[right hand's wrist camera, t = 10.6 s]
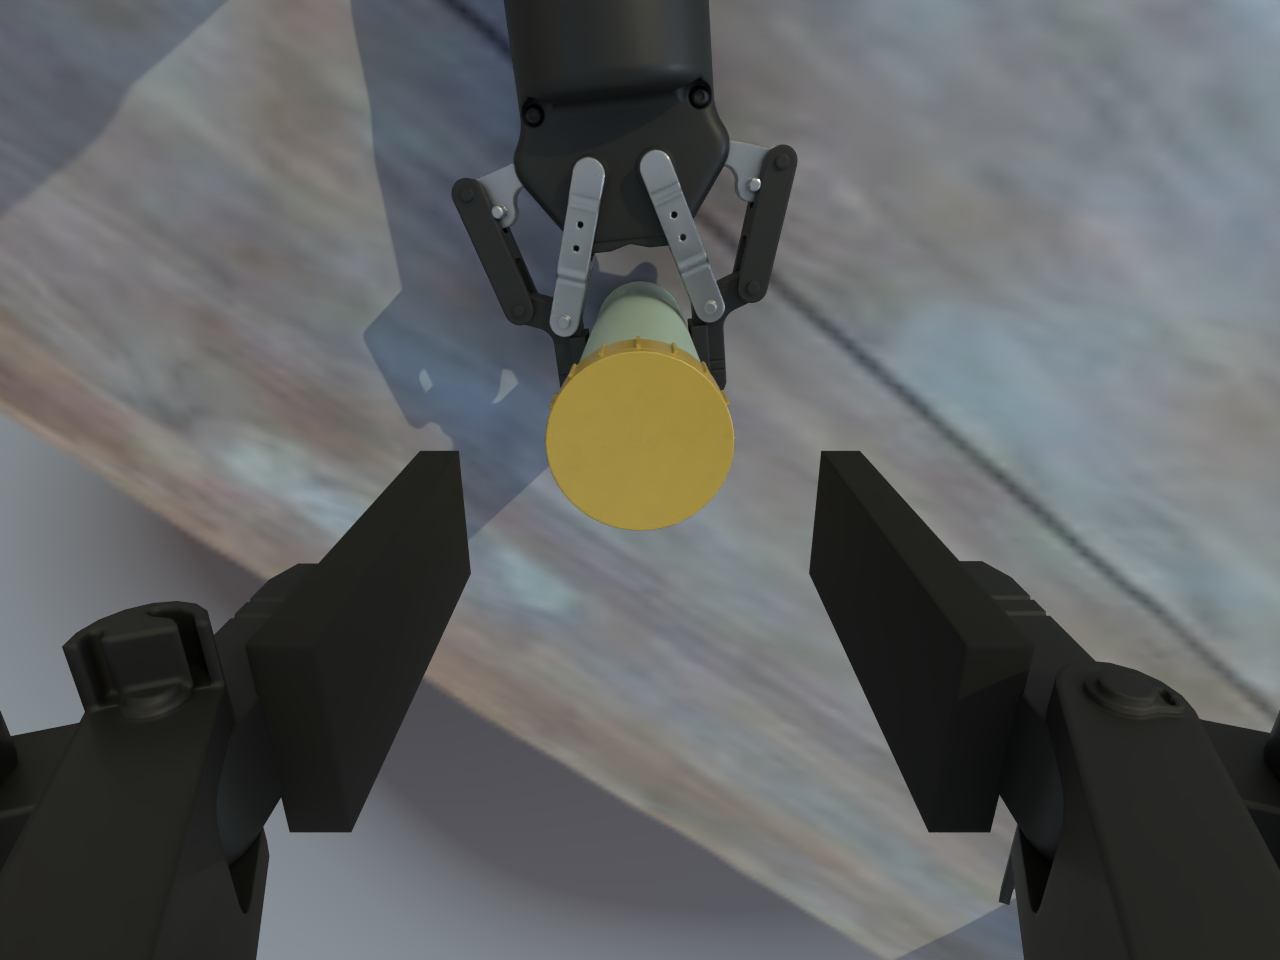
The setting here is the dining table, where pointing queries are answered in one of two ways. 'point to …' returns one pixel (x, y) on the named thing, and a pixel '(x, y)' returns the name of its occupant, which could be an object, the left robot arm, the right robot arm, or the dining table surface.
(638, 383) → the lid
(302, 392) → the dining table surface
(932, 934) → the dining table surface
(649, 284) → the pale green rounded cylinder
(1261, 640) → the dining table surface
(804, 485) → the dining table surface
